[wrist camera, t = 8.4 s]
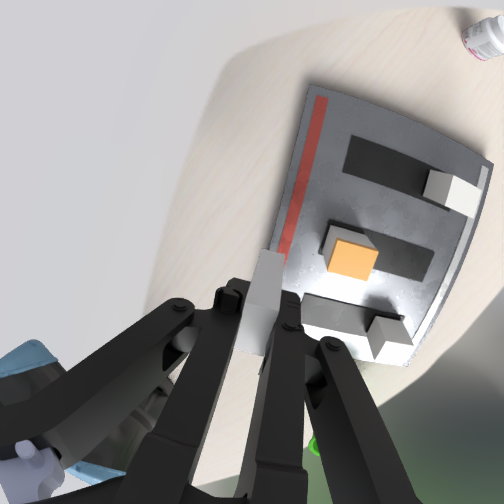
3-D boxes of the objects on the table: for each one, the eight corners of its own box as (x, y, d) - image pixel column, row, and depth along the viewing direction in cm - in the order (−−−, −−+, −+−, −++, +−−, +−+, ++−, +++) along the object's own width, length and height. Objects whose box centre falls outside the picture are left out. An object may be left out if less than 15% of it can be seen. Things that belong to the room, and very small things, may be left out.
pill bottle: (492, 58, 19) (528, 47, 11) (474, 64, 20) (511, 51, 12) (475, 28, 18) (508, 11, 10) (455, 32, 19) (488, 12, 11)
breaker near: (422, 195, 25) (444, 205, 21) (430, 169, 24) (453, 175, 20) (450, 207, 25) (473, 219, 21) (457, 182, 24) (481, 190, 19)
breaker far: (366, 335, 32) (374, 361, 27) (375, 315, 31) (386, 341, 26) (392, 340, 32) (402, 365, 27) (402, 321, 31) (414, 345, 26)
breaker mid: (322, 251, 29) (327, 271, 25) (330, 224, 28) (337, 240, 23) (356, 260, 29) (367, 281, 24) (365, 235, 28) (378, 252, 23)
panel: (248, 326, 37) (245, 336, 35) (308, 88, 26) (310, 83, 24) (403, 358, 36) (407, 367, 34) (485, 162, 25) (495, 164, 22)
